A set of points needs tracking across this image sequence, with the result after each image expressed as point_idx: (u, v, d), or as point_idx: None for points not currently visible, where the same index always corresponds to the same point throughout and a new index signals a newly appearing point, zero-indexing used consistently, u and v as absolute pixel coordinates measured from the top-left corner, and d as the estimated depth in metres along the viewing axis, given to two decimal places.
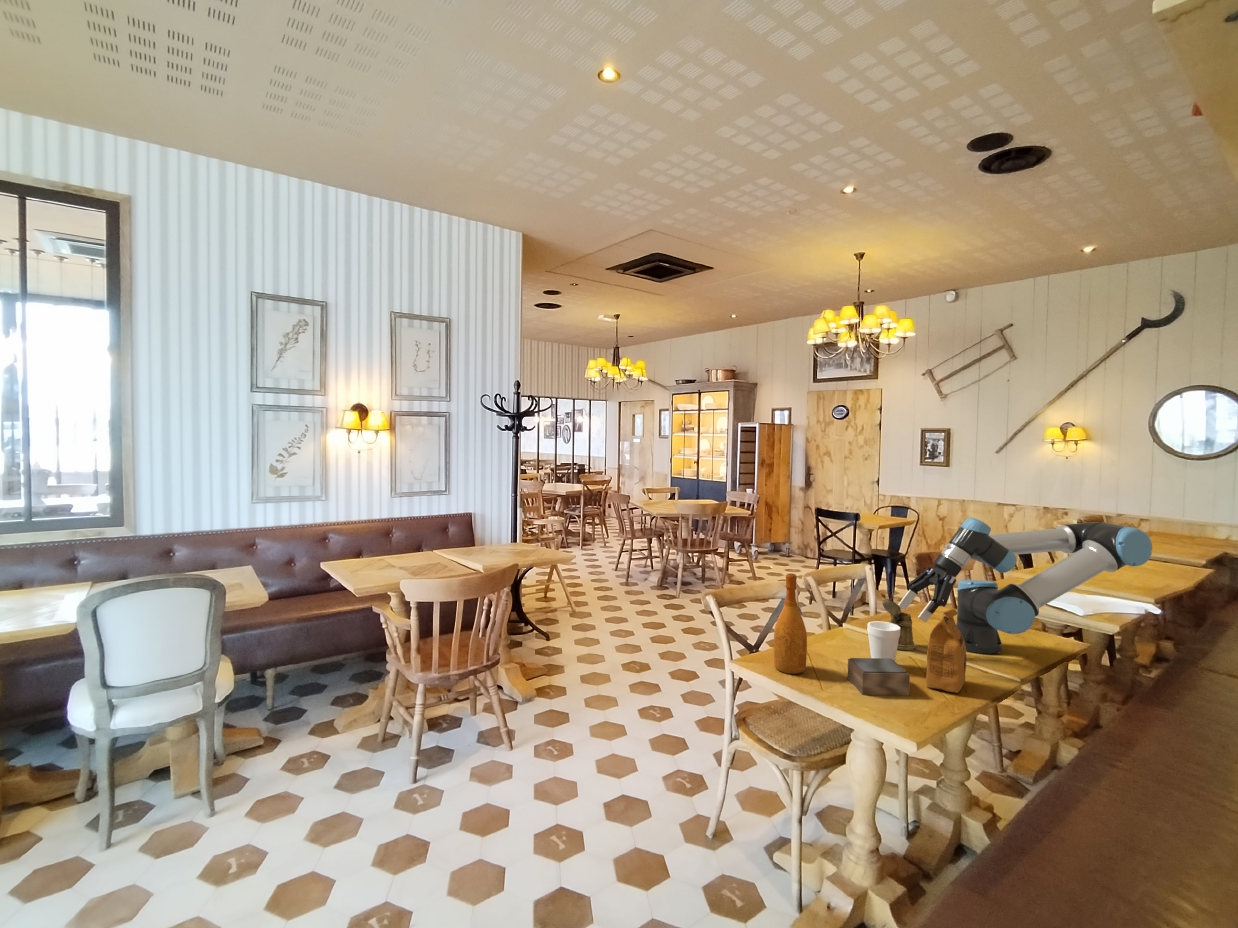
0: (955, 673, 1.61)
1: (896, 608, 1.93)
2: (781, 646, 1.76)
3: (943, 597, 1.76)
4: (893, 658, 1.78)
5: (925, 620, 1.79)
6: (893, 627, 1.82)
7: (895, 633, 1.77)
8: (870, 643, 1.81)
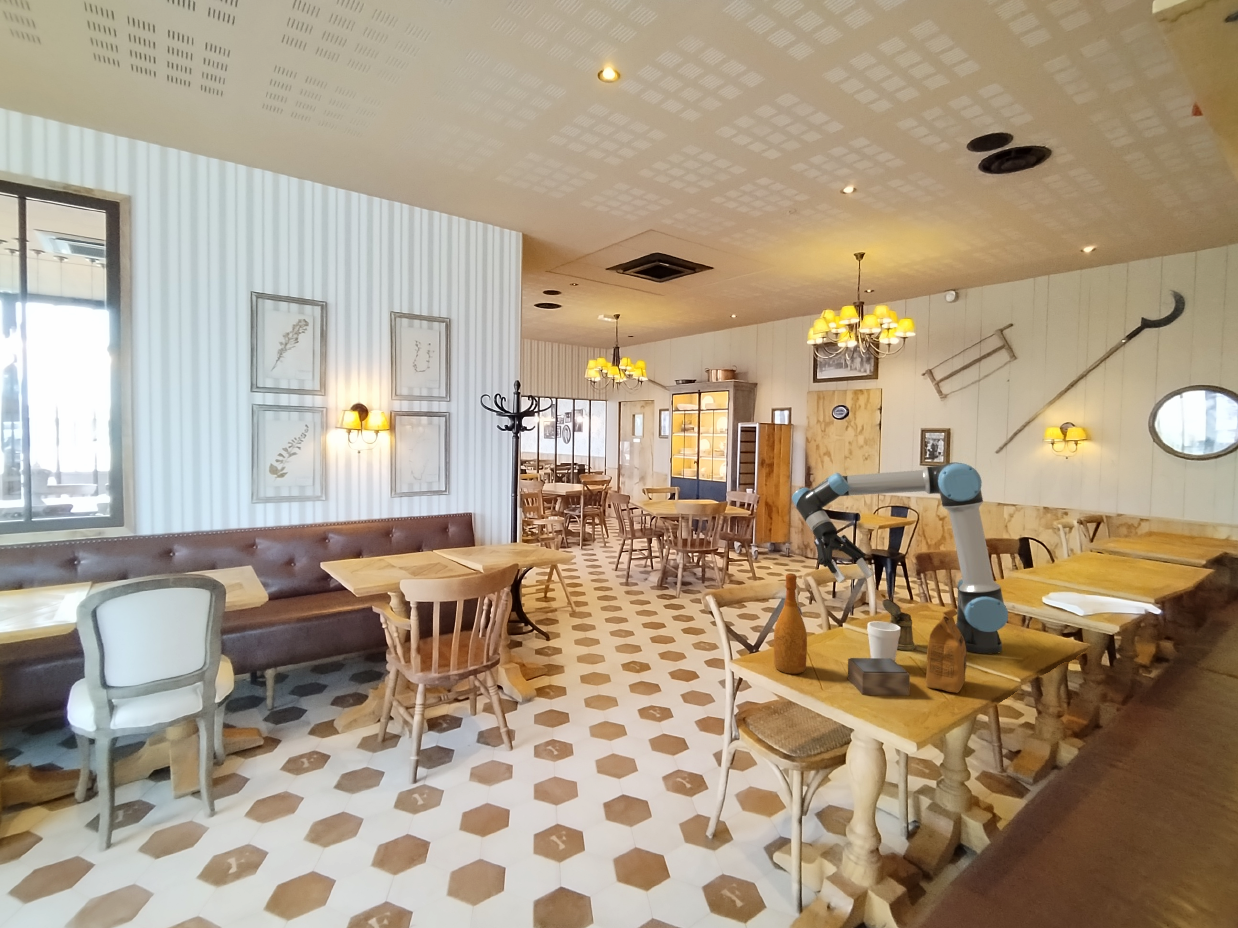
0: (955, 673, 1.61)
1: (896, 608, 1.93)
2: (781, 646, 1.76)
3: (820, 558, 1.91)
4: (893, 658, 1.78)
5: (842, 578, 1.86)
6: (893, 627, 1.82)
7: (895, 633, 1.77)
8: (870, 643, 1.81)
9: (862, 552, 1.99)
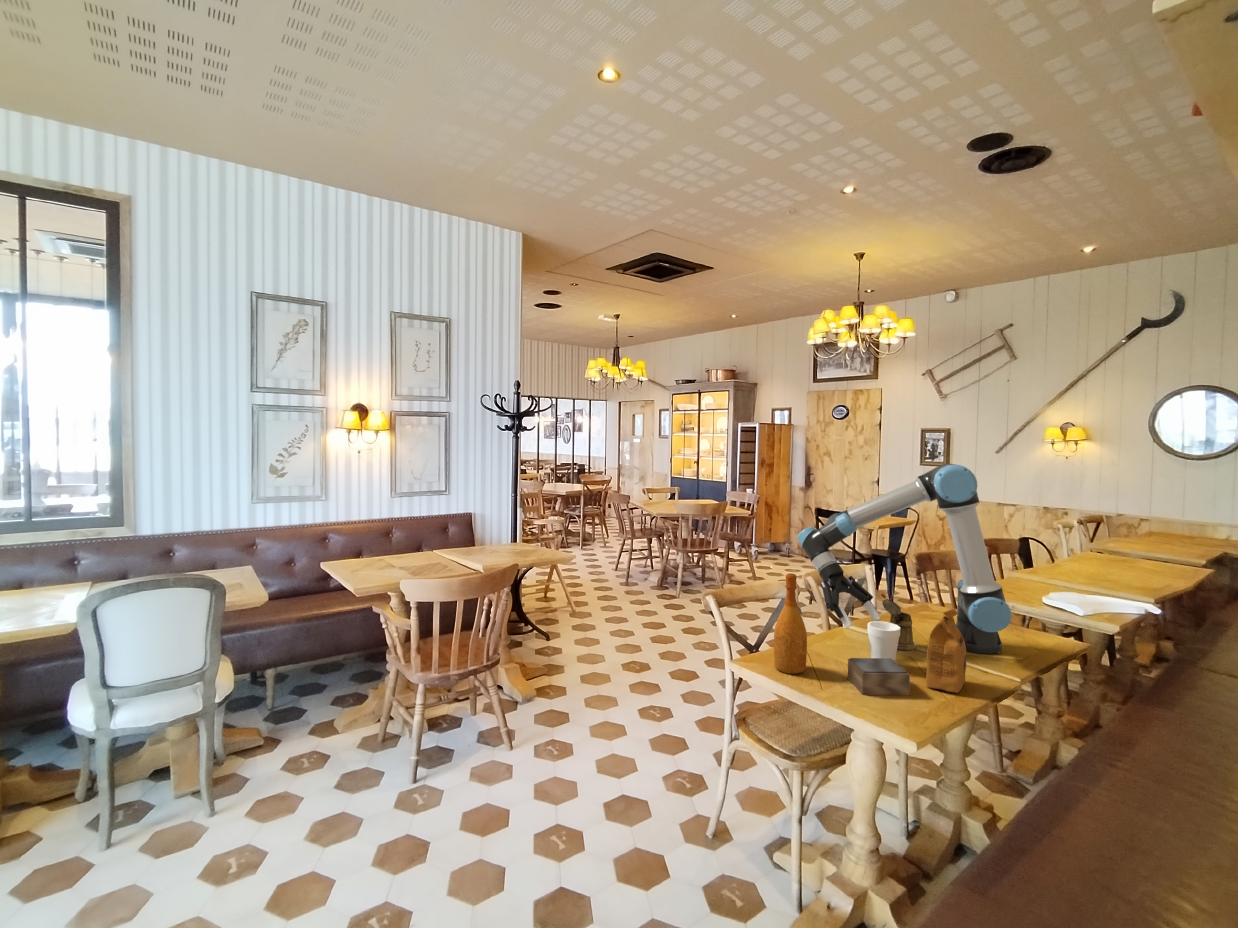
0: (955, 673, 1.61)
1: (896, 608, 1.93)
2: (781, 646, 1.76)
3: (826, 602, 1.88)
4: (893, 658, 1.78)
5: (849, 623, 1.83)
6: (893, 627, 1.82)
7: (895, 633, 1.77)
8: (870, 643, 1.81)
9: (869, 594, 1.96)
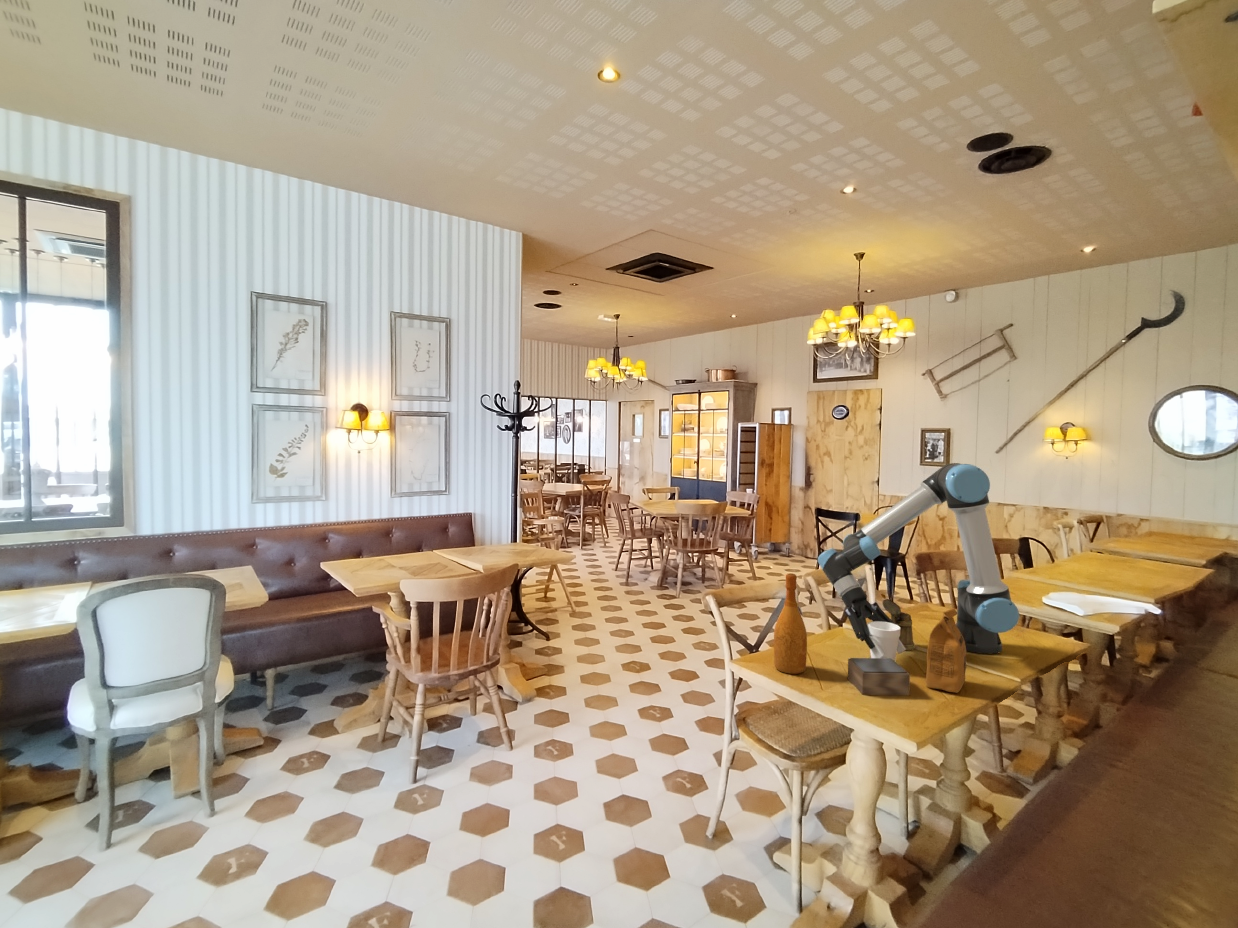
0: (955, 673, 1.61)
1: (896, 608, 1.93)
2: (781, 646, 1.76)
3: (856, 631, 1.81)
4: (893, 658, 1.78)
5: (881, 654, 1.76)
6: (893, 627, 1.82)
7: (895, 633, 1.77)
8: None
9: (893, 623, 1.87)
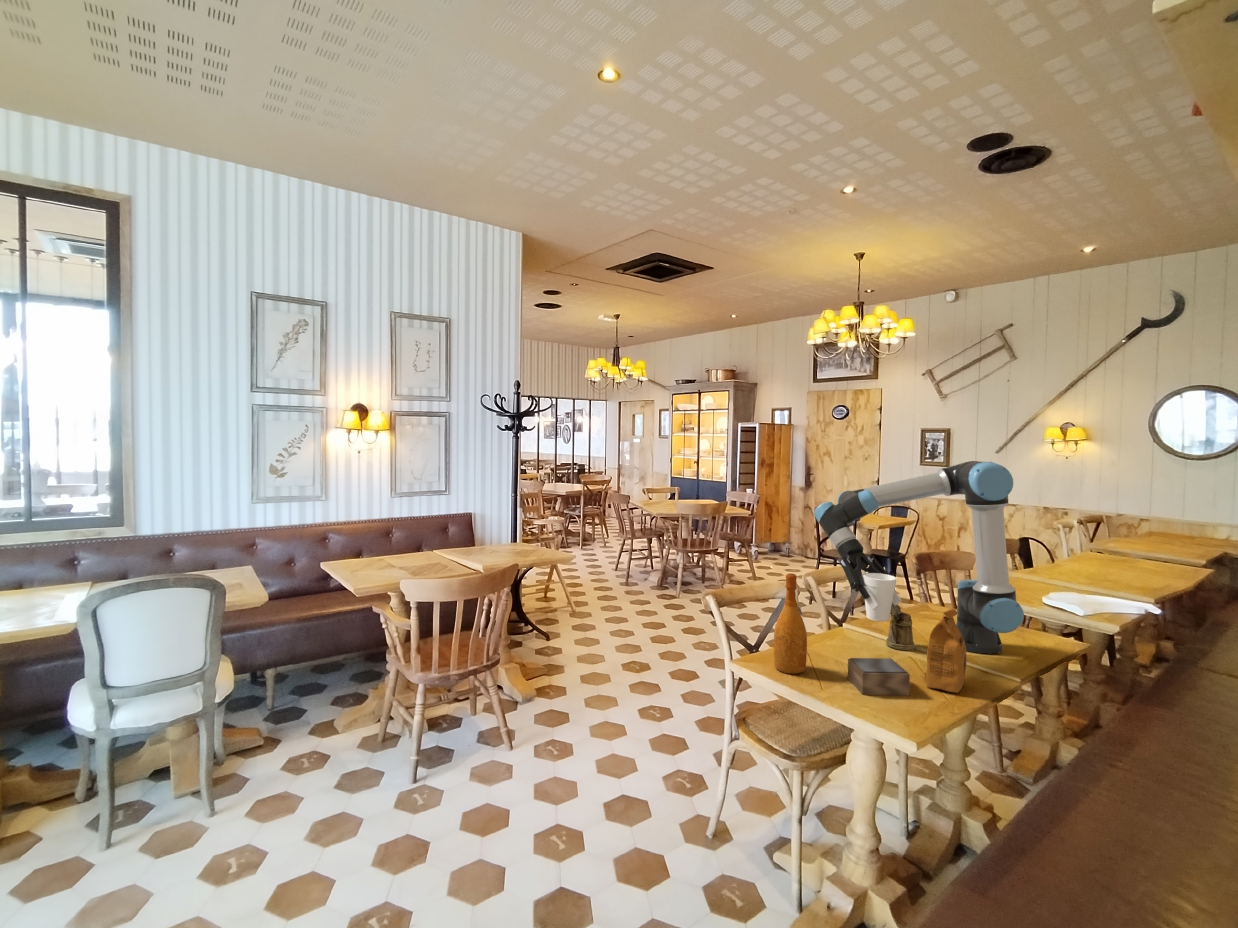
0: (955, 673, 1.61)
1: (896, 608, 1.93)
2: (781, 646, 1.76)
3: (851, 582, 1.77)
4: (888, 609, 1.75)
5: (875, 604, 1.72)
6: (889, 578, 1.79)
7: (890, 583, 1.73)
8: None
9: None
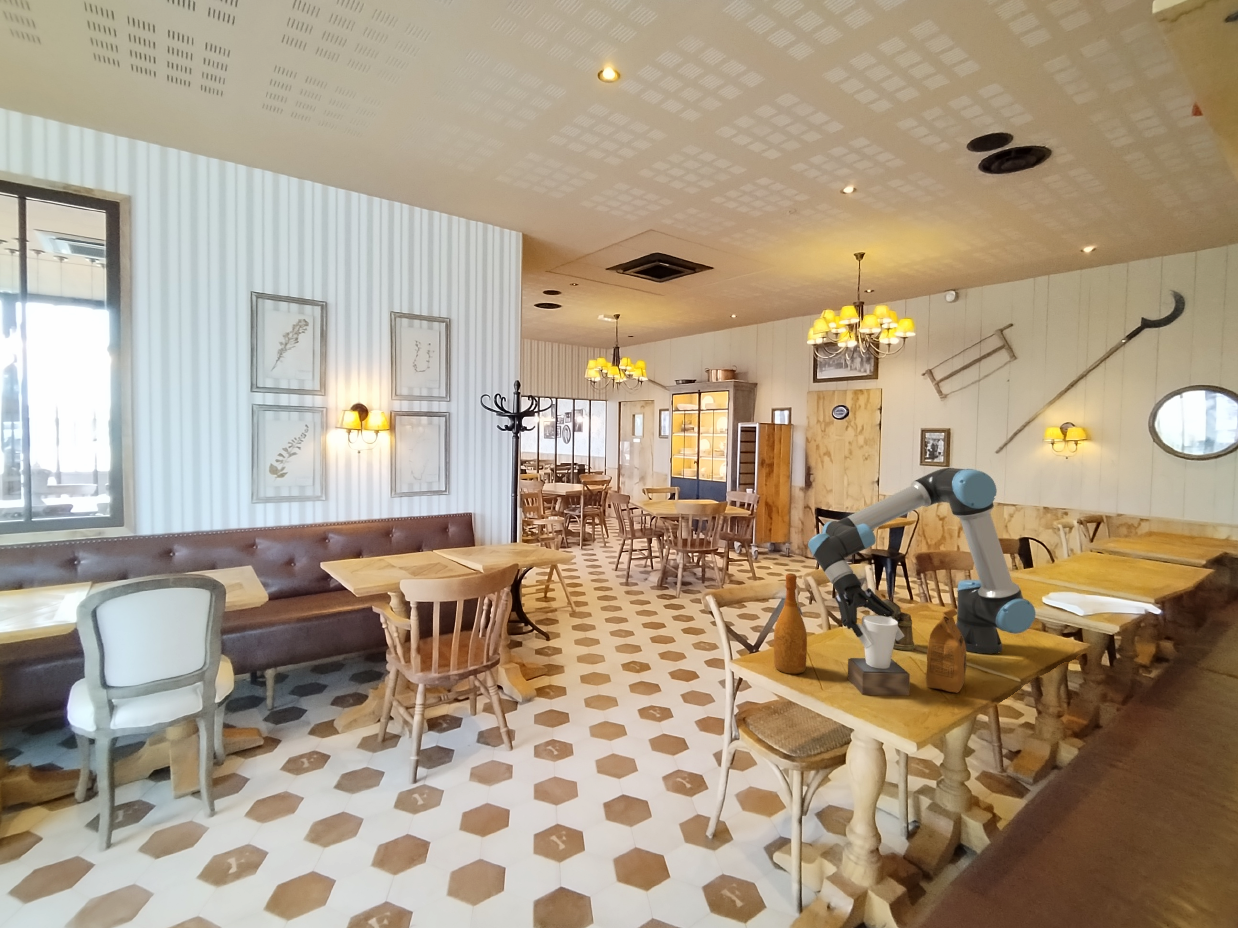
0: (955, 673, 1.61)
1: (896, 608, 1.93)
2: (781, 646, 1.76)
3: (843, 618, 1.66)
4: (889, 655, 1.63)
5: (869, 643, 1.61)
6: (890, 622, 1.68)
7: (892, 628, 1.62)
8: None
9: (890, 609, 1.73)
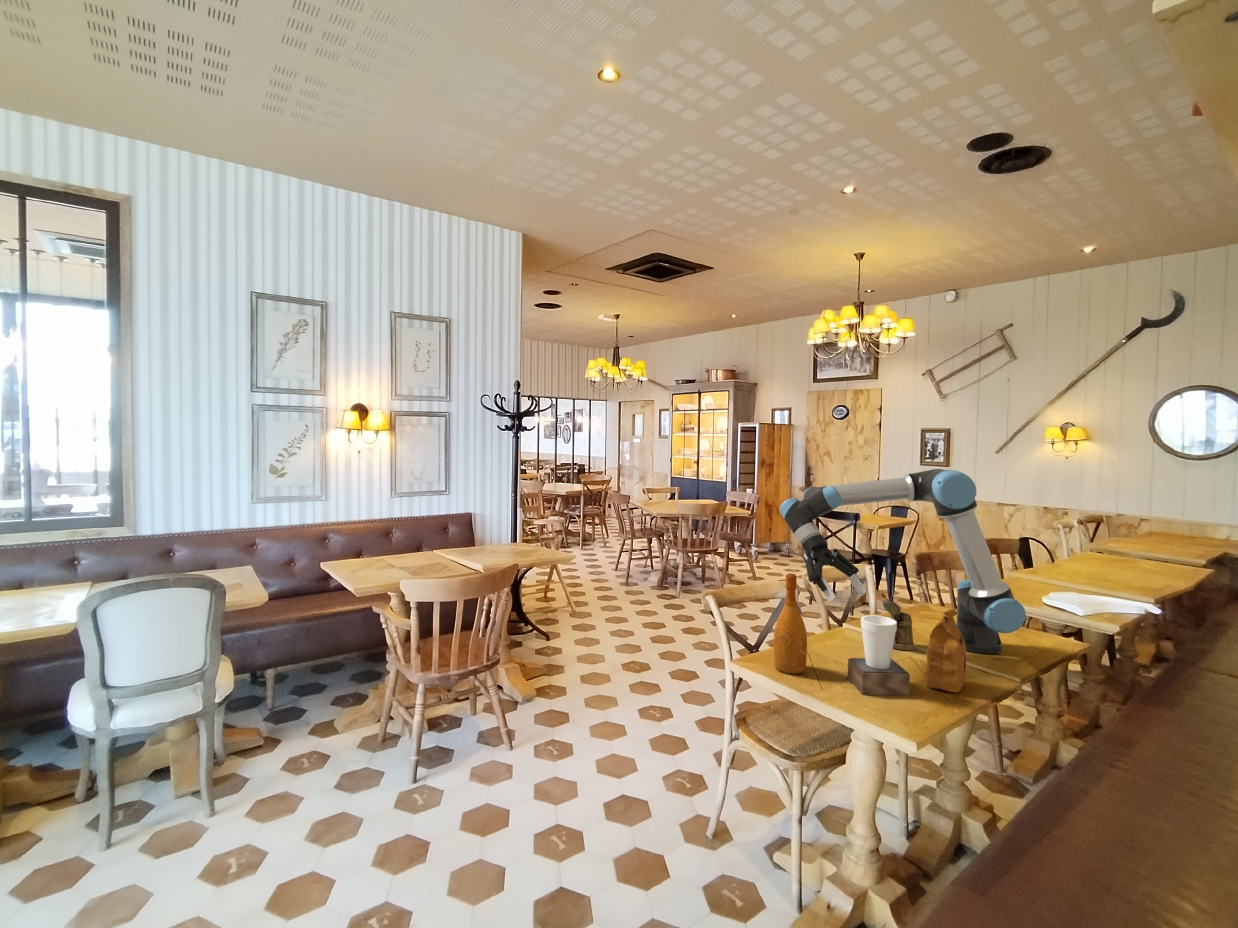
0: (955, 673, 1.61)
1: (896, 608, 1.93)
2: (781, 646, 1.76)
3: (809, 574, 1.76)
4: (889, 655, 1.63)
5: (832, 596, 1.72)
6: (889, 622, 1.68)
7: (890, 628, 1.62)
8: (864, 639, 1.67)
9: (855, 567, 1.84)
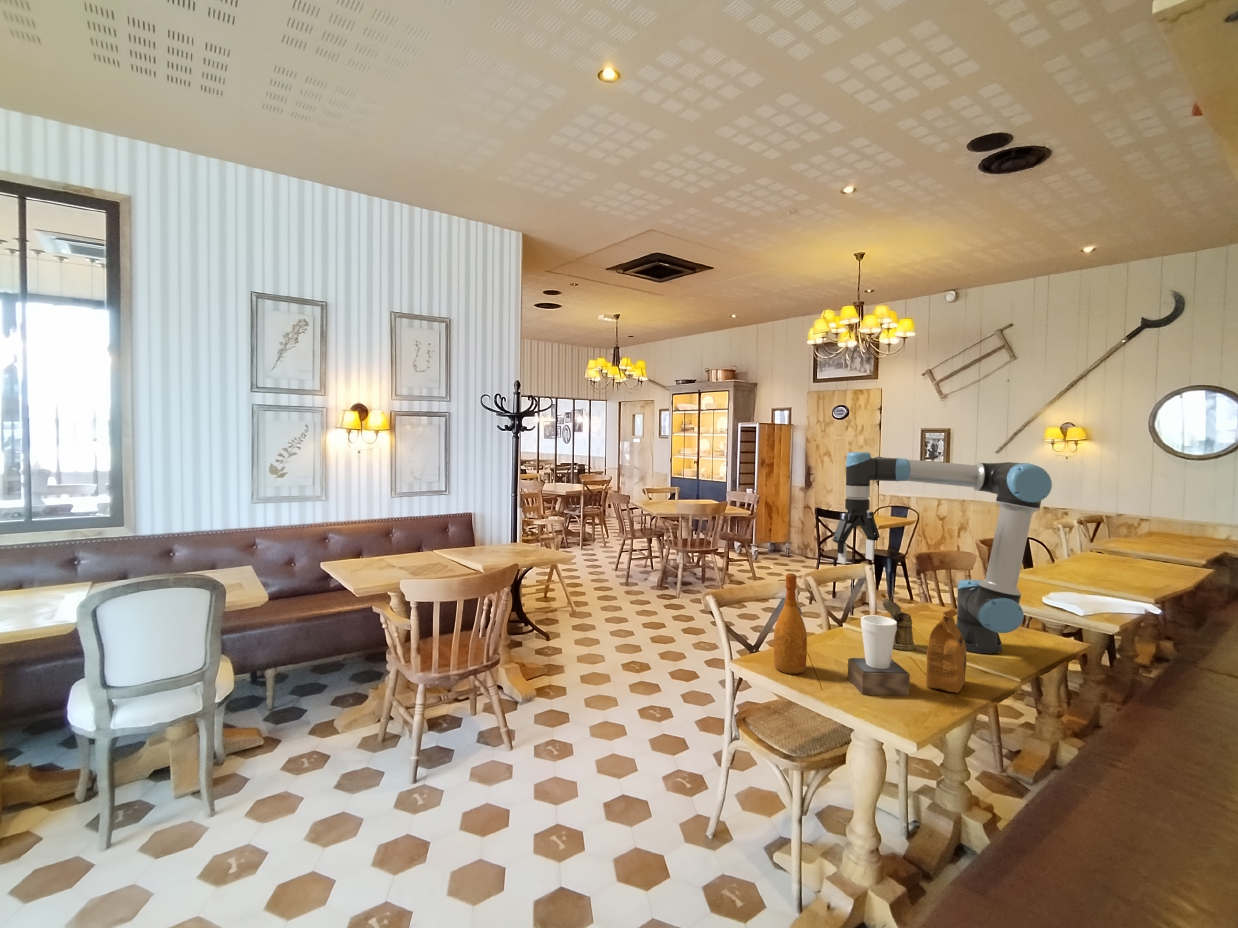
0: (955, 673, 1.61)
1: (896, 608, 1.93)
2: (781, 646, 1.76)
3: (836, 535, 1.89)
4: (889, 655, 1.63)
5: (843, 562, 1.89)
6: (889, 622, 1.68)
7: (890, 628, 1.62)
8: (864, 639, 1.67)
9: (877, 534, 1.97)
